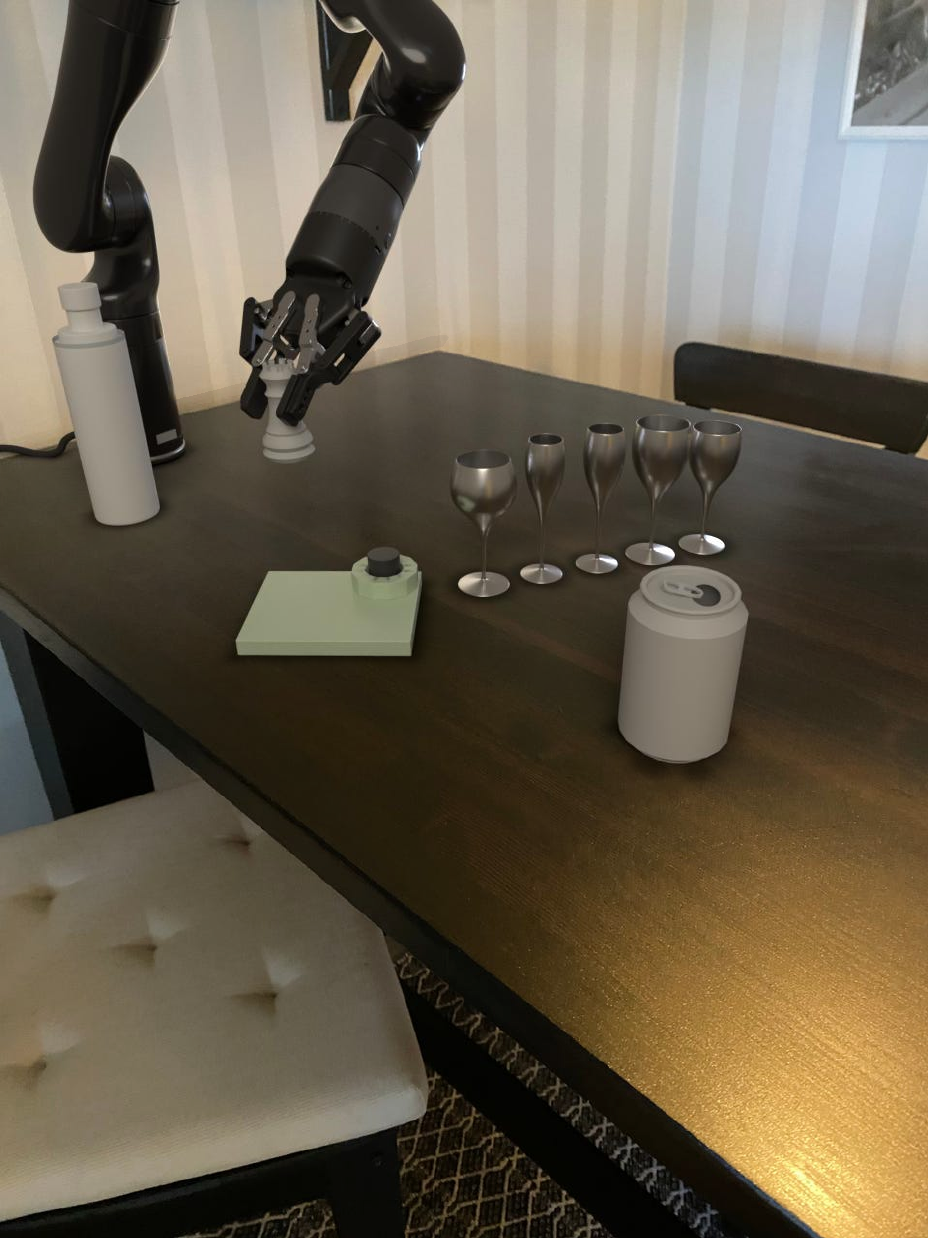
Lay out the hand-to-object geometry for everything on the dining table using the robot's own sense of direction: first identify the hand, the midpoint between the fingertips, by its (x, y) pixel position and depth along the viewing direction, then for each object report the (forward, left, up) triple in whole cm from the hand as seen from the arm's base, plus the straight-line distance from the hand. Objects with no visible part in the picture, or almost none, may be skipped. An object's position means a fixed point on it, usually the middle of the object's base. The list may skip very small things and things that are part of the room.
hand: (267, 417), depth 74 cm
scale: (+5, -6, -16) cm, 18 cm away
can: (+31, -22, -16) cm, 41 cm away
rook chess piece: (+1, +2, -4) cm, 5 cm away
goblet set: (+28, +4, -16) cm, 33 cm away
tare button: (+9, -2, -13) cm, 16 cm away
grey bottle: (-21, +16, -16) cm, 31 cm away
